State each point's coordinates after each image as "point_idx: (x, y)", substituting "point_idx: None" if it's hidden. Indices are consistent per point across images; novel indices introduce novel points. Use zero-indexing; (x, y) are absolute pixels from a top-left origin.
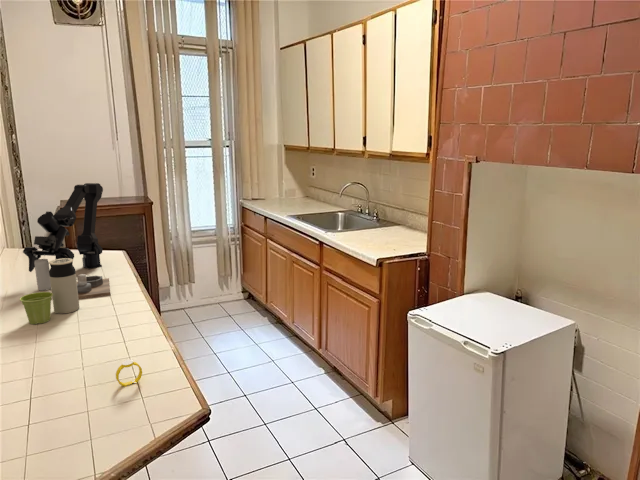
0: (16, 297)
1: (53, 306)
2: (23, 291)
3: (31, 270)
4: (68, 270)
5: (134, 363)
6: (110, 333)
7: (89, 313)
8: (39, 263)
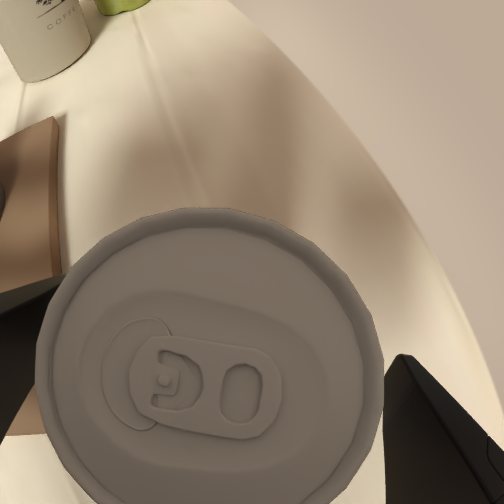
0: (344, 198)
1: (85, 23)
2: None
3: (389, 387)
4: None
5: None
6: None
7: None
8: (190, 224)
